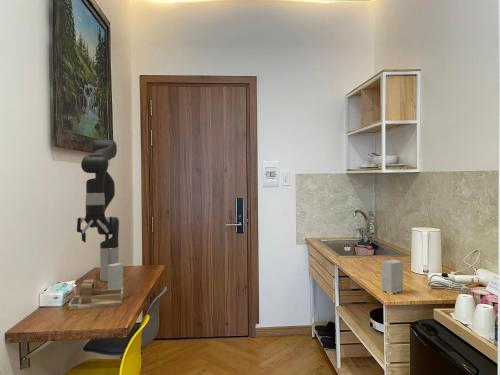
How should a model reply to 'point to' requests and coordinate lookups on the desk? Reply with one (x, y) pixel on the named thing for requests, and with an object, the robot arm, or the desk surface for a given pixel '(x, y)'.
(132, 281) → the desk surface
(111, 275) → the skincare box
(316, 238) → the desk surface
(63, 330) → the desk surface
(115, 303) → the tunnel board
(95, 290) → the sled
